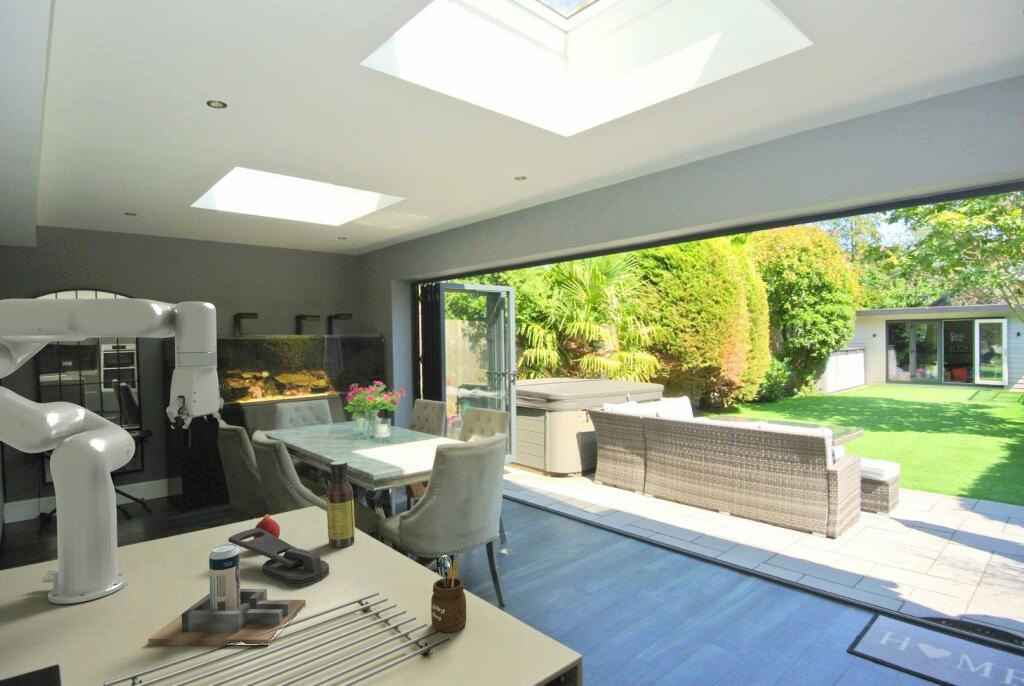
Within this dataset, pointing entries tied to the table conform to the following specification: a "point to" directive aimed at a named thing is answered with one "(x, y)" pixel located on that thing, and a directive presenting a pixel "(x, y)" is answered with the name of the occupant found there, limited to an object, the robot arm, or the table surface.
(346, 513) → the sauce bottle
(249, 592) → the keyhole board
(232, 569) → the beer can
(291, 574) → the zipper pull
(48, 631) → the table surface
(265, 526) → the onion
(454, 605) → the utensil holder
